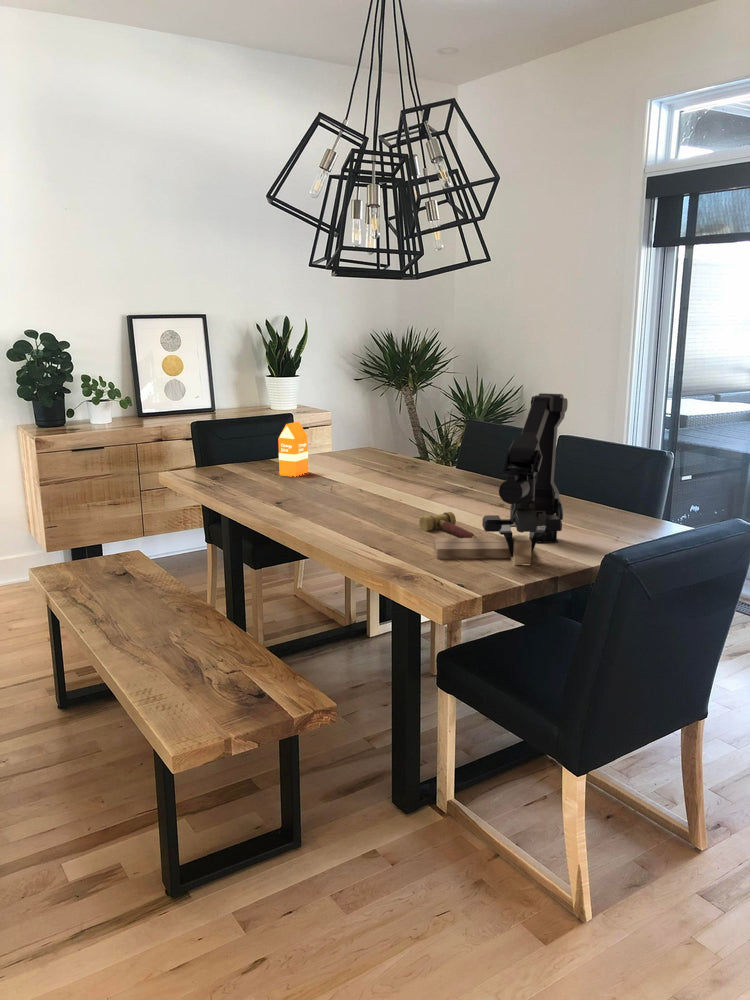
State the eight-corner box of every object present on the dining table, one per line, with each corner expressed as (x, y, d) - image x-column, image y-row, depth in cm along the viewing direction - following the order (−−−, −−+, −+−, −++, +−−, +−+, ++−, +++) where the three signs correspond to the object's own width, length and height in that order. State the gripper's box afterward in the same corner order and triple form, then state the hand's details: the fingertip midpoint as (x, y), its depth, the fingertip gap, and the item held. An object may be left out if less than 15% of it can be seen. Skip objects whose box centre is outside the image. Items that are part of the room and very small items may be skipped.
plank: (524, 546, 215) (524, 537, 214) (531, 557, 205) (532, 548, 204) (434, 547, 215) (434, 538, 214) (437, 558, 205) (437, 548, 204)
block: (521, 551, 211) (522, 529, 209) (530, 565, 199) (531, 541, 197) (506, 551, 211) (507, 529, 209) (514, 565, 199) (515, 542, 197)
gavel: (492, 530, 220) (462, 535, 215) (491, 546, 222) (462, 551, 217) (447, 509, 237) (419, 514, 233) (446, 524, 239) (418, 529, 234)
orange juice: (279, 475, 312) (277, 423, 308) (292, 471, 320) (290, 420, 315) (296, 476, 309) (294, 424, 304) (308, 472, 316) (307, 421, 312)
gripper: (489, 503, 190) (487, 566, 194) (568, 502, 190) (565, 566, 194) (482, 493, 201) (481, 553, 204) (558, 492, 201) (555, 552, 204)
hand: (520, 556), depth 201 cm, fingers closed on block, 4 cm apart
